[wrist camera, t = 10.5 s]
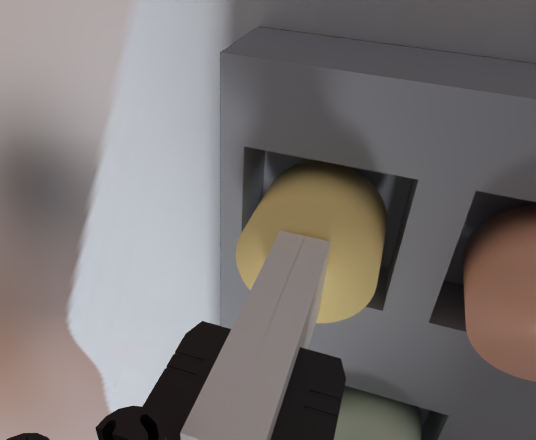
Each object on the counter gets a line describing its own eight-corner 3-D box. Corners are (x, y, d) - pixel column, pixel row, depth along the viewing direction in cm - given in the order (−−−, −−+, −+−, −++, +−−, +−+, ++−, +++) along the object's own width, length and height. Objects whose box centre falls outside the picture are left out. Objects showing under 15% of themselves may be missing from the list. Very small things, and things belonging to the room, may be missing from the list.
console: (730, 89, 13) (804, 138, 11) (489, 473, 25) (495, 543, 23) (258, 26, 16) (220, 52, 14) (242, 396, 28) (220, 450, 26)
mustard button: (400, 175, 15) (391, 226, 13) (374, 278, 18) (363, 338, 15) (268, 149, 16) (236, 193, 14) (261, 252, 18) (234, 303, 16)
